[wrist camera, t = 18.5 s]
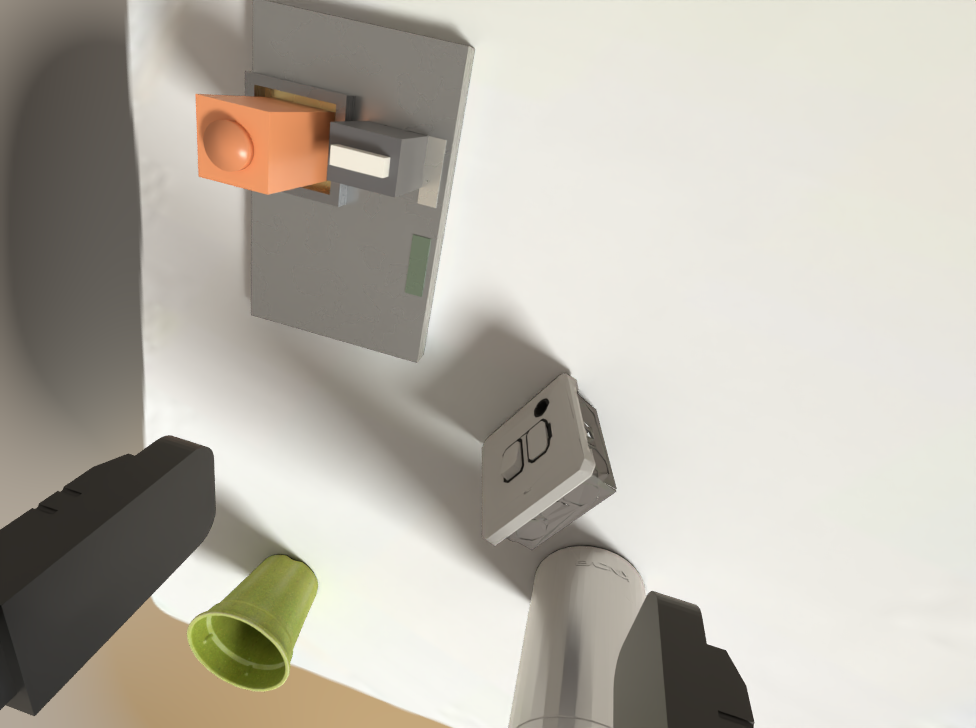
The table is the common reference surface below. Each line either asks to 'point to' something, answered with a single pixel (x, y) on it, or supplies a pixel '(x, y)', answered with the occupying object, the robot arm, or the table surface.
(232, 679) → the plant pot
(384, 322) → the panel
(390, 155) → the breaker slider
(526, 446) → the electrical switch
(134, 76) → the table surface
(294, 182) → the cap
